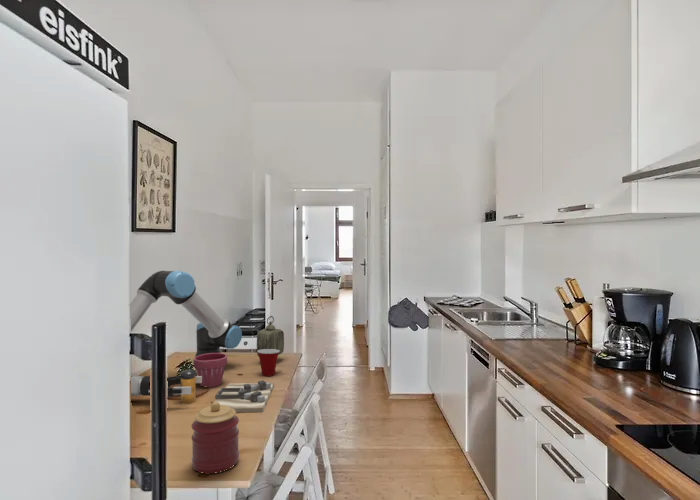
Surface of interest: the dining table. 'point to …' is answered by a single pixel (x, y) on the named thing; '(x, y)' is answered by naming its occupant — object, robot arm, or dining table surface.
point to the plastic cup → (268, 361)
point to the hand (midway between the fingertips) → (196, 384)
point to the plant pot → (210, 368)
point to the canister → (215, 439)
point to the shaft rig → (245, 396)
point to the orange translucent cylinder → (188, 385)
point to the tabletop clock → (270, 338)
